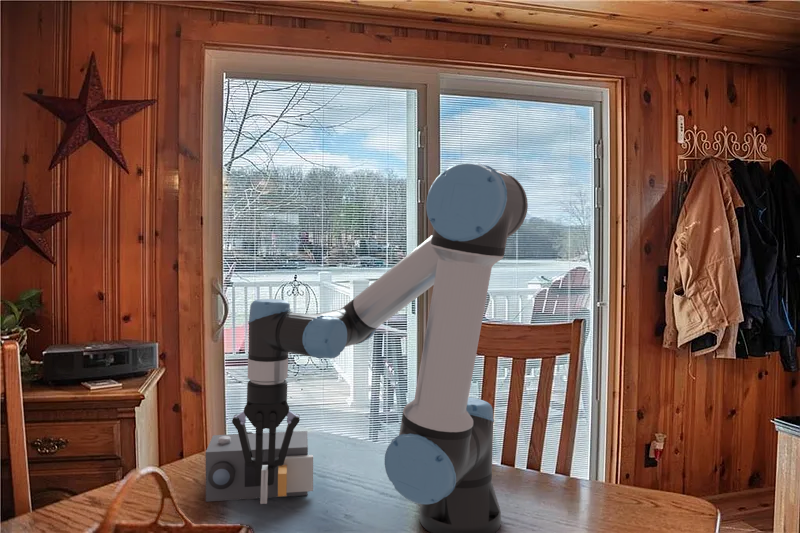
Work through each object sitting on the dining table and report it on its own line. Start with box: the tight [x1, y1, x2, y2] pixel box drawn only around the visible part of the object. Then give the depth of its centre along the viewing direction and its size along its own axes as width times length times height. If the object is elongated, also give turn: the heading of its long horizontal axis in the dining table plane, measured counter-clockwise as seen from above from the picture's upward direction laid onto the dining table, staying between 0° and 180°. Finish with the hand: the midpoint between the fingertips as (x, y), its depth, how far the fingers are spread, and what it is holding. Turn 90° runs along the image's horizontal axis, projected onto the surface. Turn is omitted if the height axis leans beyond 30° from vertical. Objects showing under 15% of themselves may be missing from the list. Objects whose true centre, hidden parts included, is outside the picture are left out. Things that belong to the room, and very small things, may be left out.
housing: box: [205, 430, 309, 503], centre depth 120 cm, size 12×20×11 cm, turn 100°
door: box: [278, 454, 314, 496], centre depth 115 cm, size 6×7×7 cm
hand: (264, 500), depth 112 cm, fingers closed
